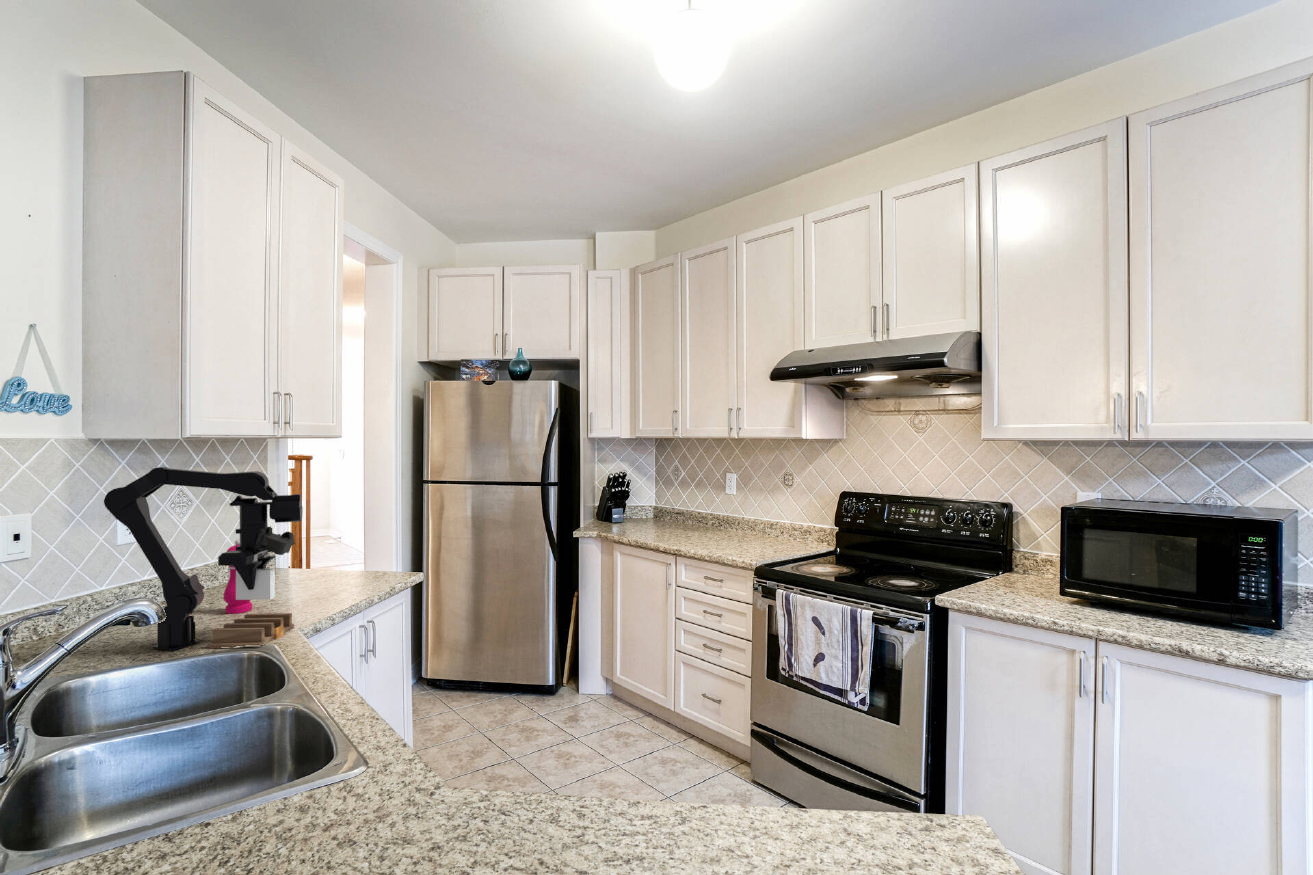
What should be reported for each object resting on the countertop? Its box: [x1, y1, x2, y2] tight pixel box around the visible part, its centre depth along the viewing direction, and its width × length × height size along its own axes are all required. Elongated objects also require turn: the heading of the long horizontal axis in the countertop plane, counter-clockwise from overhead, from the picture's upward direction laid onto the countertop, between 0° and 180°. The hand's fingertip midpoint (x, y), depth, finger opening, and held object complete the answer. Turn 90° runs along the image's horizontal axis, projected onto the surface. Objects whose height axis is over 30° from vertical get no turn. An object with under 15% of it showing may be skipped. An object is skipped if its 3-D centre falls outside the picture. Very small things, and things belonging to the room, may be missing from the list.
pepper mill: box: [222, 538, 253, 615], centre depth 183 cm, size 7×7×20 cm
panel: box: [236, 568, 276, 601], centre depth 158 cm, size 2×8×7 cm, turn 93°
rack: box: [209, 612, 295, 650], centre depth 158 cm, size 16×12×4 cm
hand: (253, 588), depth 158 cm, fingers closed on panel, 2 cm apart
